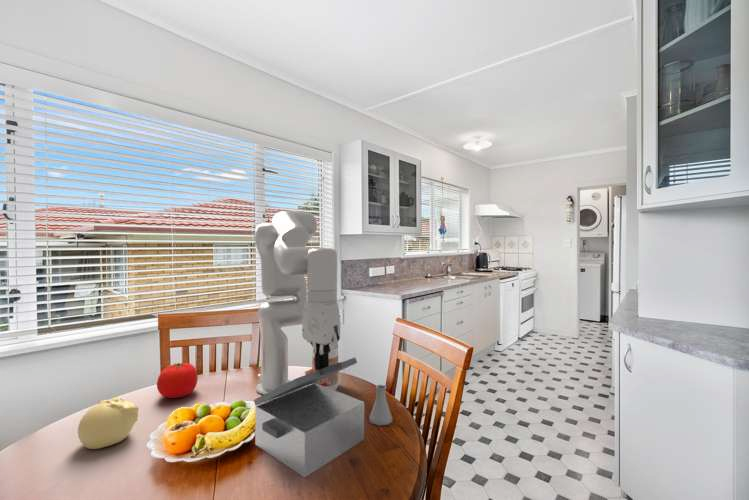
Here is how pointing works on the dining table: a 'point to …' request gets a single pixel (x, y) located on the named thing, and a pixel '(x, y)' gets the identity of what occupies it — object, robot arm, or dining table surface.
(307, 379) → the lid
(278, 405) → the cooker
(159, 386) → the tomato
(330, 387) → the fruit juice
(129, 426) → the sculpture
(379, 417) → the flask
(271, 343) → the robot arm
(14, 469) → the dining table surface
